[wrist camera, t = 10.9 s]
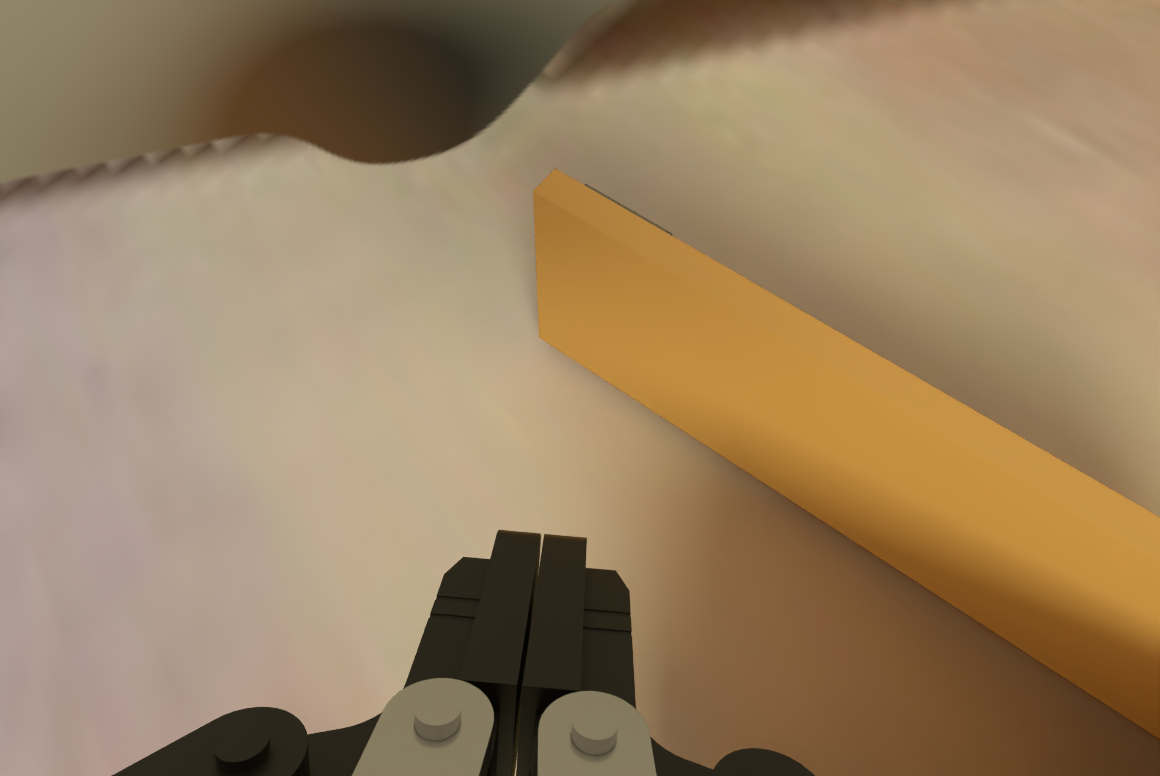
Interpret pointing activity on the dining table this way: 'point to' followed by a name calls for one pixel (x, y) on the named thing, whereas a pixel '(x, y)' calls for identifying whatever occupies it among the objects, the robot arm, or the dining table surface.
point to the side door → (859, 444)
